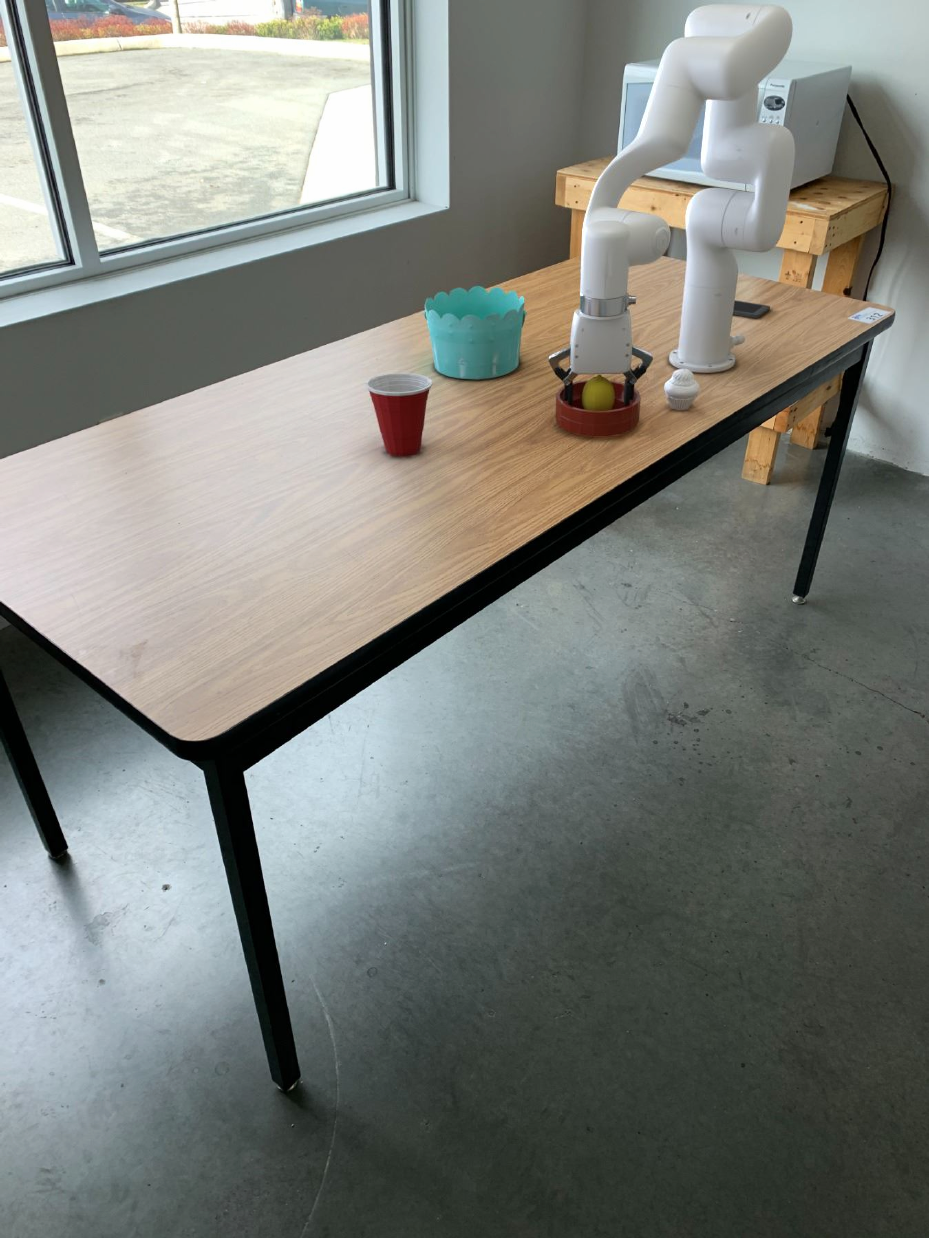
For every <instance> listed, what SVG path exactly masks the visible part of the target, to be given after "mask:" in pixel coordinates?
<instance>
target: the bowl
mask: <svg viewBox="0 0 929 1238" xmlns="http://www.w3.org/2000/svg"><path fill="white" fill-rule="evenodd" d="M589 380H590V379H586V380H580V381H573V407H572V406H570V405H568V401H564V386H562V387H561V388H559V389H558V390H557V392H556V393H555V423H556V424H557V426H558V427H559V428H560V429H562V430H564V431H566V432H568V433H570V434H575V435H579V436H583V437H592V438H599V437H600V438H603V437H605V438H606V437H614V436H618V435H623V434H626V433H629V432H631V431H632V430H634V429H636V427H637V426H638V424H639V422H640V413H641V402H642V401H641V400H642V399H641V398H642V396H641V394H640V391H638V390H637V389H636V388H635V387H634V399H633V400H630V405H629V406H625V403H624V385H625V382H619V381H615V380H609V381H610V382H611V383H612V385H613V388H614V394H615V400H614V404H613V407H612V409H611V410H609V411H592V410H584V408H583V405H582V393H583V389H584V386H585V384H586V383H587V382H588V381H589Z"/></svg>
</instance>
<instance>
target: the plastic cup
mask: <svg viewBox="0 0 929 1238" xmlns="http://www.w3.org/2000/svg"><path fill="white" fill-rule="evenodd" d="M433 383H434V381H433V380H432V378H430V377H429V376H425V375H423V374H418V373H412V372H391V373H384V374H379V375H375V376H373V377H371V378H368V379H367V380H366V381H365V383H364V385H365V387H366V389H367V391H368V392H369V396H370V399H371V401H372V402H371V403H372V404H373V409H374V412H375V416H376V421H377V424H378V428H379V432H380V434H381V437H382V438H381V439H382V441H383V445H384V448H385V451H386V453H387V454H388V455H390V456H393V457H396V458H397V457H400V458H404V457H411V456H414V455H417V454H418V453H419V452H420V450H421V447H422V440H423V432H424V429H425V428H424V427H425V419H426V410H427V402H428V398H429V395H430V394H429V393H430V389H431V388H432V386H433Z"/></svg>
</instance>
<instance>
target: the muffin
mask: <svg viewBox="0 0 929 1238" xmlns="http://www.w3.org/2000/svg"><path fill="white" fill-rule="evenodd" d="M663 390H664V394H665V397H666V400H667V401H668V404H669V406H670V408H671V409H673V410H675V411H686V410H688V409H689V408H691V405H693V402H694V401H695V400H696V398H697V397H698V394H699V392H700V385H699V384H698V382H697V381H696V379H695V377H694V372H691V371H690V370H688V369H679V368H677V369H676V370H675V371H674V372H672V376H671V377H670V379H668V380H667V381H666V382H665V383H664V387H663Z"/></svg>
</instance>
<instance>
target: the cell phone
mask: <svg viewBox="0 0 929 1238" xmlns="http://www.w3.org/2000/svg"><path fill="white" fill-rule="evenodd" d="M770 310H771V306H770V305H766V304H761V303H754V302H747V301H742V300H736V299H735V301H734V309H733V316H734V315H736V316H740V317H747V318H753V319H759V318H761V317H762V316H764V315H765V314H766V313H767V312H769V311H770Z"/></svg>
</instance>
